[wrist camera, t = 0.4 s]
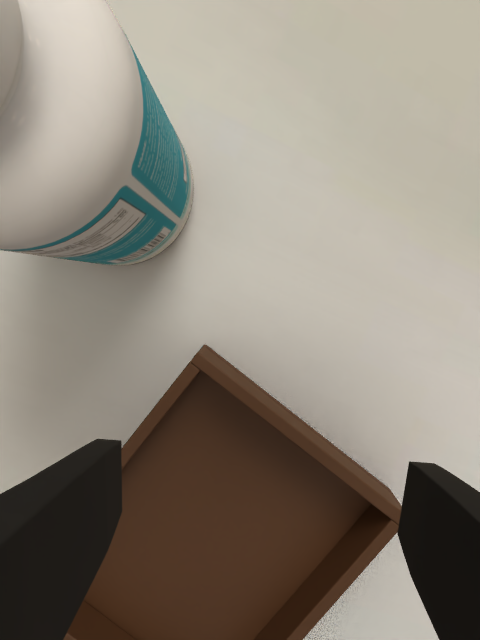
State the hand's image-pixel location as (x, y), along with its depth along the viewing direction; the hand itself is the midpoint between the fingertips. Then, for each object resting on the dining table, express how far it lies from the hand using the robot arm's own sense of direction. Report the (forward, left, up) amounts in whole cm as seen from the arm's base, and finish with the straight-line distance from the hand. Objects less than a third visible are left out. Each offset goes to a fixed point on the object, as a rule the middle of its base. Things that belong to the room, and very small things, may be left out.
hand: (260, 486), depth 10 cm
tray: (-7, -3, -10) cm, 13 cm away
